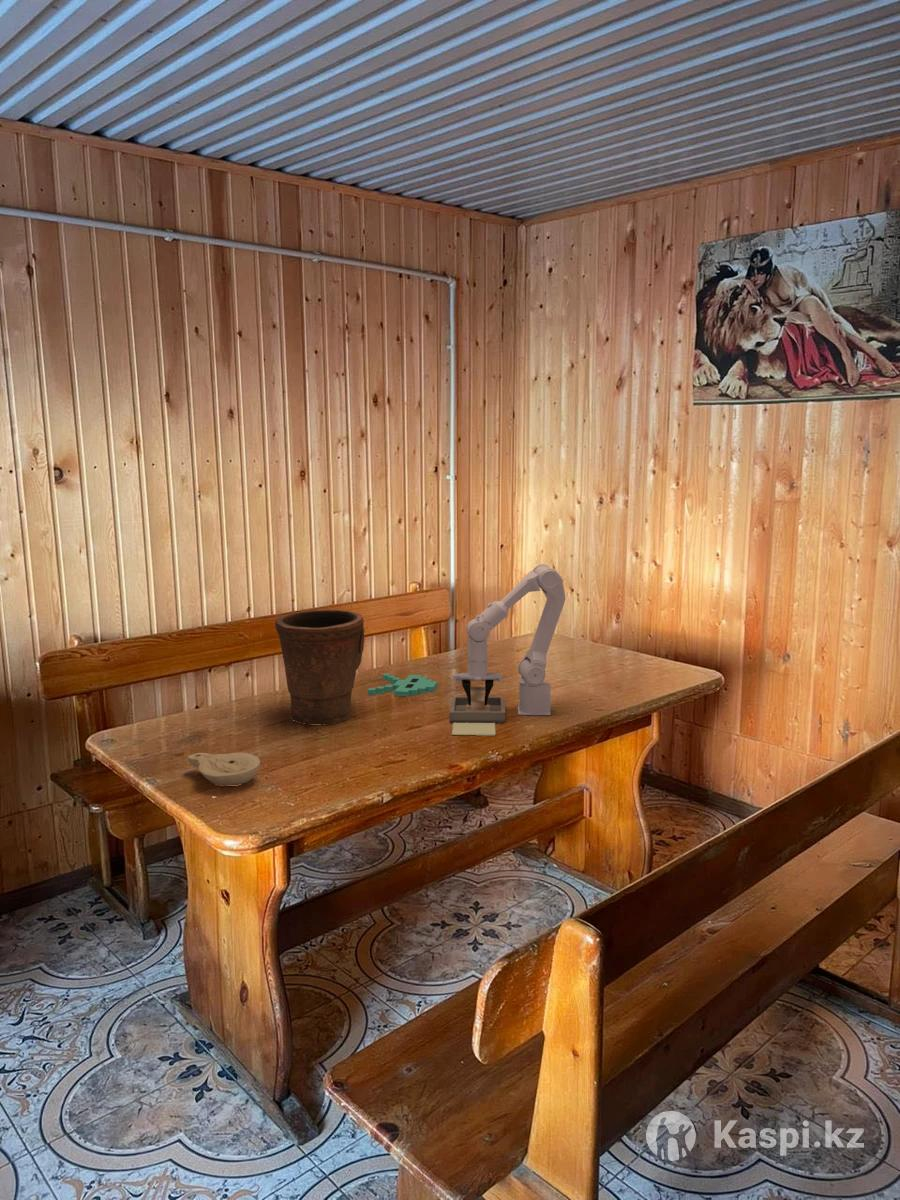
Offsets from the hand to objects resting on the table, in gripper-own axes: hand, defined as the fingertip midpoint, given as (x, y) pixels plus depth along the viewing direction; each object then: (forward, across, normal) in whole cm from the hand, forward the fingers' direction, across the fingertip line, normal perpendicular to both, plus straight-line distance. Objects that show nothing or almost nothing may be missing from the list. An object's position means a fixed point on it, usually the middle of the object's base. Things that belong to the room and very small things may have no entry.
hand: (477, 704), depth 263 cm
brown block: (+1, 0, 0) cm, 1 cm away
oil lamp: (+3, -62, -52) cm, 81 cm away
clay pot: (+3, -45, 0) cm, 45 cm away
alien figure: (+4, -24, +28) cm, 37 cm away
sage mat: (+3, -1, -14) cm, 14 cm away
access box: (+3, 0, 0) cm, 3 cm away
